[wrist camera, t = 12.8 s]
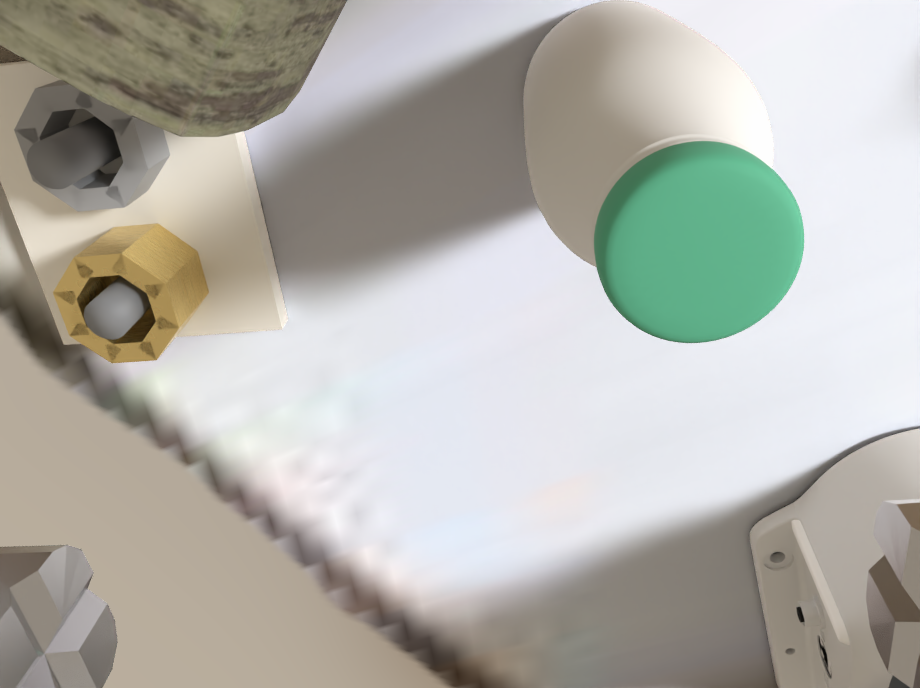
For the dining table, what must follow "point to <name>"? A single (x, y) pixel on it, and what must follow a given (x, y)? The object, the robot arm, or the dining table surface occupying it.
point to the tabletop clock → (176, 55)
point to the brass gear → (147, 267)
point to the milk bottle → (660, 171)
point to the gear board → (132, 202)
